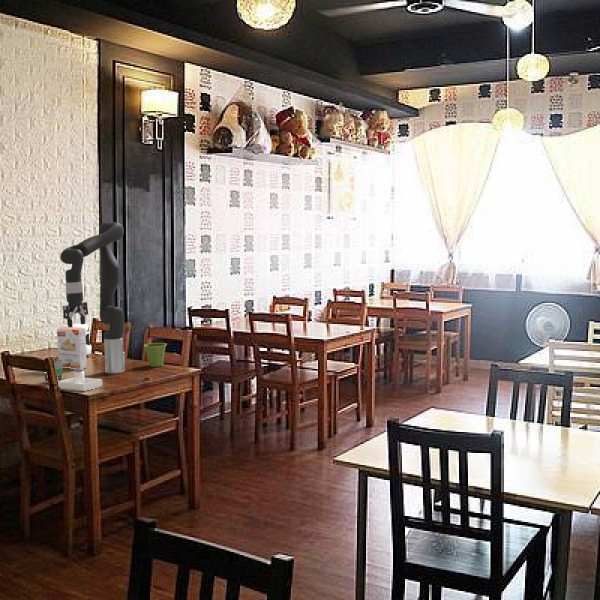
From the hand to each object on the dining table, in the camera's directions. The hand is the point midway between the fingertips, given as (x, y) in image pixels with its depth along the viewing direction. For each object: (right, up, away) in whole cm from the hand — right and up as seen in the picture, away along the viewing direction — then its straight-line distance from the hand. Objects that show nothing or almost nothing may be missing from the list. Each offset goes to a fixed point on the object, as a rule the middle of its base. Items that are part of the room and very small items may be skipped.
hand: (76, 325), depth 366 cm
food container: (-10, -27, +3) cm, 29 cm away
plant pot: (+30, -23, +42) cm, 56 cm away
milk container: (-22, -20, +74) cm, 80 cm away
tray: (+5, -28, -11) cm, 30 cm away
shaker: (+5, -27, -11) cm, 30 cm away
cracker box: (-13, -24, +40) cm, 48 cm away
